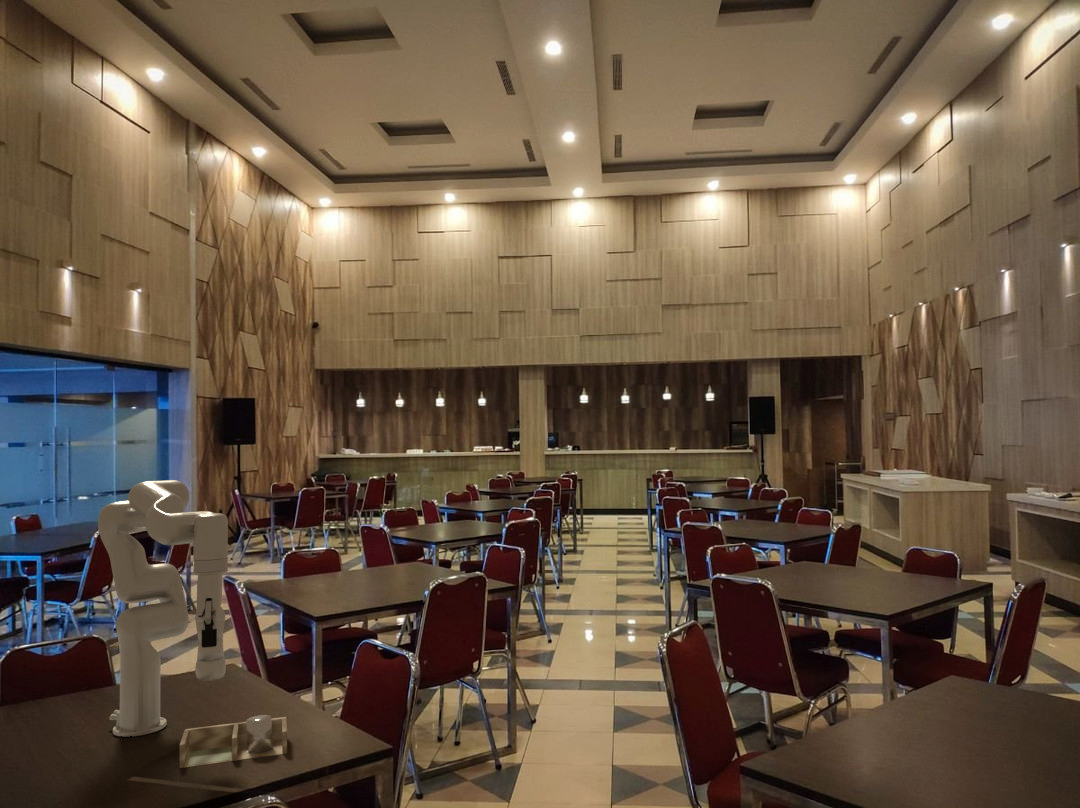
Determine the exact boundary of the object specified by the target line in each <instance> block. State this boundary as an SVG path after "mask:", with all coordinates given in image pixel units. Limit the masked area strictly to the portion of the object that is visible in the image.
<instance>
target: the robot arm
mask: <svg viewBox="0 0 1080 808" xmlns="http://www.w3.org/2000/svg"><path fill="white" fill-rule="evenodd" d="M127 499H128V500H121V501H114V502H111V503H107V505H104V506H103V507H102V508H101V509H100V511H99V514H98V518H97V529H98V532H99V533H98V534H99V536H100V540H101V542H102V543H103V545H104V547H105V550H106V552H107V554H108V557H109V561H110V566H111V571H112V577H113V582H114V588H115V592H116V596H117V597H118V600H119V601H120V602H122V603H124V604H137V603H143V602H150V601H154V600H155V601H156V600H158V601H160V602H156V603H149V604H143V605H136V606H133V607H132V606H131V607H129V608H127V609H125V610H124V611H122V612H121V613H120V614H119V615H118V616H117V619H116V623H115V628H116V635H117V639H118V648H119V709H115V710H114V711H113V712H112V714H110V716H109V717H108V718H109V720H110V721H116V722H115V723H116V724H115V725H114V726H113V728H112V734H113V735H114V736H116V737H121V736H122V737H123V738H129V737H130V736H132V737H139V736H145V735H149V734H152V733H156V732H158V731H160V730H162V729H164V728H165V727H167V724H168V723H167V719H166V718H164V717H161V655H160V654H159V652H158V651H157V649H155V647H153V645H152V643H153V642H155V641H158V640H159V641H161V640H163V639H169V638H174V637H178V636H180V635H182V634H184V633H185V632H186V631H187V629H188V627H189V623H190V622H189V621H190V620H189V611H188V606H187V602H186V597H185V592H184V587H183V586H184V585H183V581H182V579H181V575H180V572H179V571H178V569H177V568H176V566H174V564H171V563H167V562H166V563H155V564H150V563H148V561H147V555H146V550H145V548H144V546H143V545H142V544H141V543H140V542H139V540H138V539H136V538H135V537H134V536H132V535H131V534H130V533H133V532H145V531H146V532H147V534H148V535H149V536H150V537H151V539H153V540H154V541H156V542H157V543H160V544H161V545H164V546H177V545H179V546H180V545H185V544H193V552H192V553H193V555H192V557H193V562H192V563H193V564H192V565H193V566H192V567H193V575H197V584H196V611H195V613H196V614H195V617H197V618H199V616H202V613H203V630H202V648H206V647H215V646H216V645H217V629H215V628H216V616H218V615H219V611H220V607H222V600H223V598H222V597H223V574H224V573H227V572H228V570H229V569H228V568H229V566H228V565H229V556H228V555H229V554H228V553H229V545H228V544H229V543H228V541H229V539H228V538H229V536H228V535H229V519H228V516H227V515H226V514H225V513H224V514H223V513H219V512H218V513H216V512H212V511H208V510H207V511H206V510H203V511H187V512H184V511H185V510H186V508H187V507H188V505H189V501H190V492H189V488H188V487H187V485H186V484H185V483H183V482H182V481H181V480H178V479H177V480H176V479H175V480H174V479H169V480H168V479H166V480H146V481H141V482H139V483H137V484H134V486H132V487H131V489H130V490H129V492H128V495H127ZM149 536H148V537H149ZM211 613H214V615H211Z"/></svg>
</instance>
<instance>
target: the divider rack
mask: <svg viewBox="0 0 1080 808" xmlns="http://www.w3.org/2000/svg"><path fill="white" fill-rule="evenodd" d="M271 722H272V746H273V747H272V748H271V749H270V750H268V751H265V752H261V753H249V752H248V749H247V724H246V721H242V722H241V721H240V722H234V723H225V724H217V725H208V726H203V727H202V726H200V727H192V728H186V729H184V730H183V733H182V737H181V739H180V743H179V768H180V769H182V768H188V767H195V766H196V767H197V766H202V765H203V766H204V765H205V766H206V765H211V764H212V765H213V764H218V763H219V764H220V763H225V762H234V761H242V760H247V759H256V758H262V757H263V758H264V757H271V756H277V755H286V754H288V726H287V716H283V717H273V718H271Z"/></svg>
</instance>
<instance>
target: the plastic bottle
mask: <svg viewBox="0 0 1080 808" xmlns="http://www.w3.org/2000/svg"><path fill="white" fill-rule="evenodd" d="M211 615H214V613H211ZM194 618H195V627H196V632H197V633H196V634H197V655H196V663H195V669H194V671H195V676H196V678H197V679H198V681H201V682H202V681H203V682H206V681H207V682H211V681H216V680H219V679H222V678H223V677H224V676H225V674H226V669H227V664H226V659H225V654H224V629H225V623H226V622H225V621H226V614H225V610H224V609H223V607H222V606H221V607H220V611H219V615H218V616H216V628H215V629H217V645H216V646H215V647H206V648H202V630H203V613H202V616H199V618H197V617H196V616H195V617H194Z"/></svg>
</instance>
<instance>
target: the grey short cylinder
mask: <svg viewBox="0 0 1080 808" xmlns="http://www.w3.org/2000/svg"><path fill="white" fill-rule="evenodd" d="M271 719H272V715H270V714H259V715H255V716H251V717H249V718H247V719H246V721H245V722H246V724H247V749H248V752H249V753H261V752H265V751H268V750H270V749H271V748H272V747H273V746H272V722H271Z"/></svg>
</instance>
